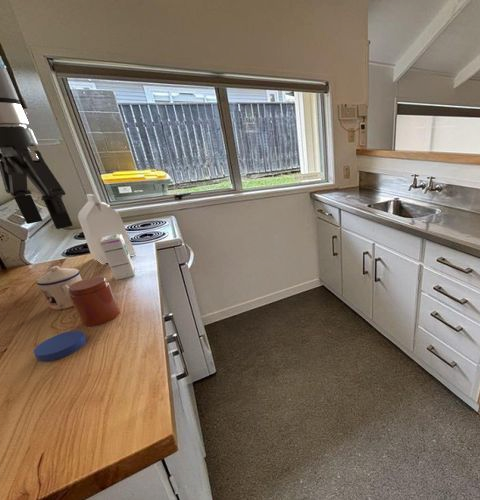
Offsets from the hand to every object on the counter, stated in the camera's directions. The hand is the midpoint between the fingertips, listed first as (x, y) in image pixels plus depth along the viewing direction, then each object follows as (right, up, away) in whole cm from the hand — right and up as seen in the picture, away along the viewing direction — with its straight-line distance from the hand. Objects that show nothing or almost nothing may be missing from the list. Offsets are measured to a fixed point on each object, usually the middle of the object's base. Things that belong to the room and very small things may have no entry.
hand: (49, 224), depth 67 cm
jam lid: (+4, -28, -2) cm, 28 cm away
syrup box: (-9, -15, +34) cm, 39 cm away
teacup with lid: (-12, -22, +17) cm, 31 cm away
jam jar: (+3, -24, +10) cm, 27 cm away
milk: (-27, -9, +51) cm, 58 cm away
